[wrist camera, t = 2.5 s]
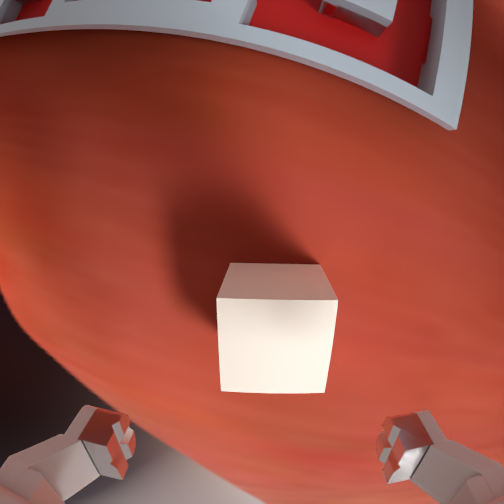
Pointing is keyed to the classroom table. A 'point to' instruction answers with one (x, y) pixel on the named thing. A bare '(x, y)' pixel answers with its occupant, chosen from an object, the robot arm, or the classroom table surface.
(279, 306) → the cream cube
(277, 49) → the maze game
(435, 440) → the robot arm
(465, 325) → the classroom table surface
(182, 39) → the classroom table surface
